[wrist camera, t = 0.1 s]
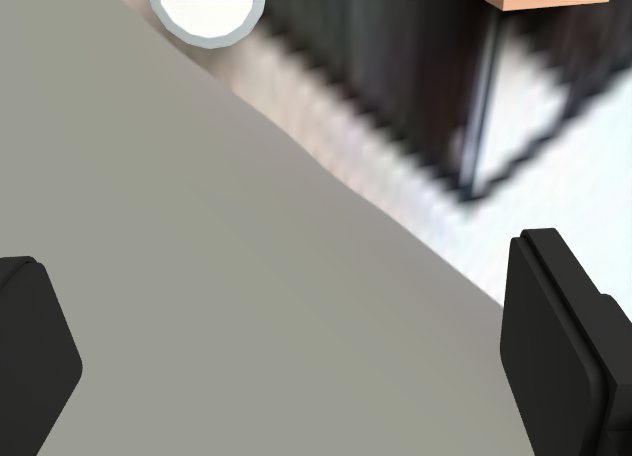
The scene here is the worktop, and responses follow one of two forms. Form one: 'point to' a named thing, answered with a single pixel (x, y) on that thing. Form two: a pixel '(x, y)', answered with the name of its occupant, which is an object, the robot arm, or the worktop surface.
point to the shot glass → (209, 20)
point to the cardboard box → (536, 3)
